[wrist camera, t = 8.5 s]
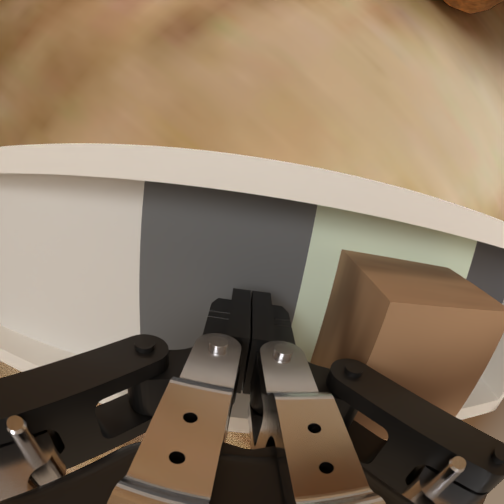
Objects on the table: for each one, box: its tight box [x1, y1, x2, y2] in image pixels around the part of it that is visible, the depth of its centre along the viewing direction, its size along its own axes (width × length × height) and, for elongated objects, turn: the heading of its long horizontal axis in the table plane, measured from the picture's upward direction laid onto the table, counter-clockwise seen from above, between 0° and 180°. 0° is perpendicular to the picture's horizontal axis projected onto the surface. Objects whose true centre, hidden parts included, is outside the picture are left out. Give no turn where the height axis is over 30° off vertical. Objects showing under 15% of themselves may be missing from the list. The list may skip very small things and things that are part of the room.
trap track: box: [0, 143, 504, 433], centre depth 13 cm, size 12×35×4 cm, turn 81°
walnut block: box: [310, 249, 504, 439], centre depth 11 cm, size 6×6×5 cm
